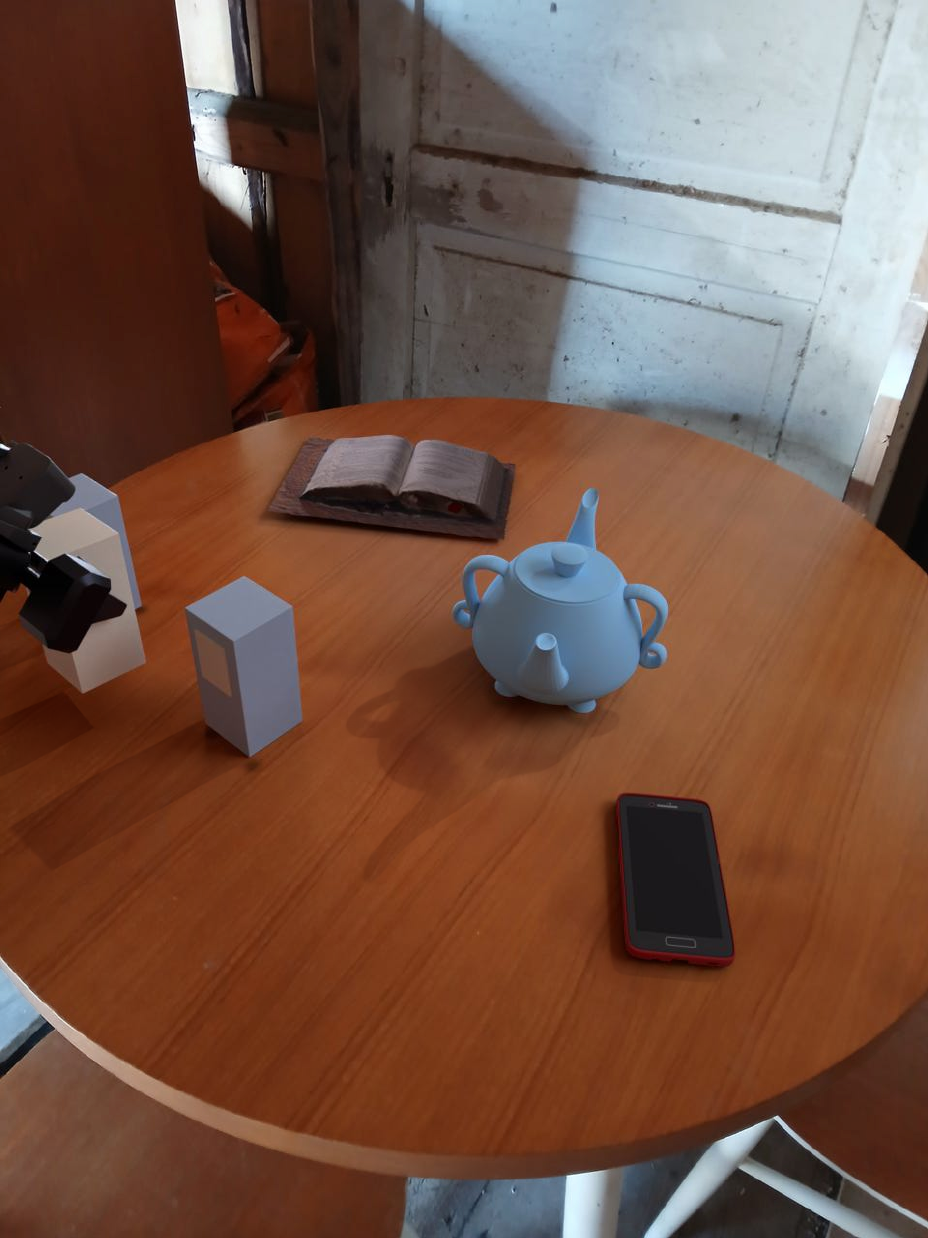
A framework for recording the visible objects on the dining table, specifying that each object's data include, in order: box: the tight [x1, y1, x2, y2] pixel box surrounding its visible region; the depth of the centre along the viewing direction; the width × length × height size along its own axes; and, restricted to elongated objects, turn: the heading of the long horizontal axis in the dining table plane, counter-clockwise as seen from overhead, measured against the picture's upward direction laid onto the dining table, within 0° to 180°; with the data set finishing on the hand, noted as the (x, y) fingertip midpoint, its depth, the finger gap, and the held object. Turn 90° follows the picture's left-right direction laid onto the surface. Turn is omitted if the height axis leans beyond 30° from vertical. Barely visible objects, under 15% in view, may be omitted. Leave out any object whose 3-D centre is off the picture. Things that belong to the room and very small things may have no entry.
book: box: [267, 434, 517, 541], centre depth 111 cm, size 20×28×4 cm
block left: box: [44, 472, 143, 610], centre depth 87 cm, size 6×6×13 cm
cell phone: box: [615, 792, 737, 968], centre depth 69 cm, size 8×15×1 cm, turn 176°
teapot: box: [451, 487, 669, 714], centre depth 83 cm, size 16×20×14 cm
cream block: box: [25, 508, 147, 695], centre depth 75 cm, size 6×6×13 cm
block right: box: [184, 575, 303, 758], centre depth 76 cm, size 6×6×13 cm
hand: (99, 591), depth 76 cm, fingers closed on cream block, 7 cm apart
